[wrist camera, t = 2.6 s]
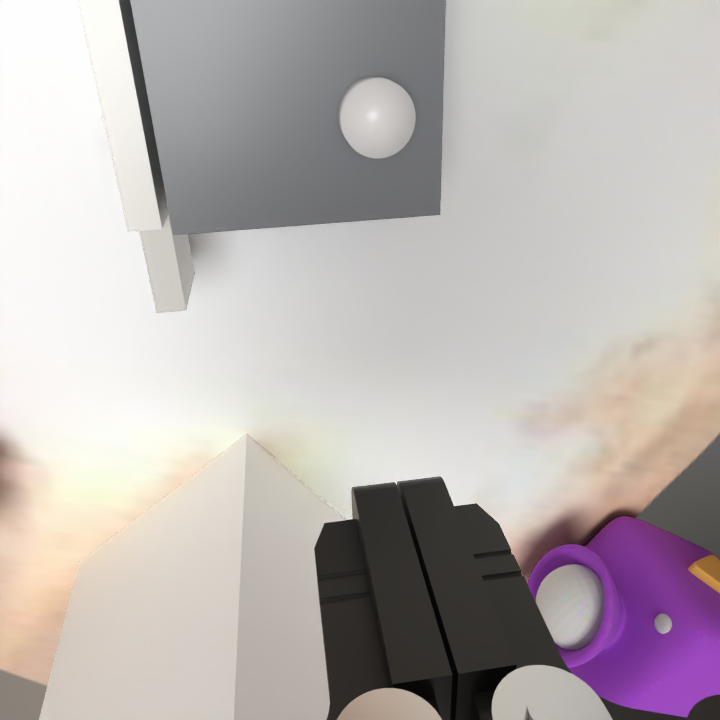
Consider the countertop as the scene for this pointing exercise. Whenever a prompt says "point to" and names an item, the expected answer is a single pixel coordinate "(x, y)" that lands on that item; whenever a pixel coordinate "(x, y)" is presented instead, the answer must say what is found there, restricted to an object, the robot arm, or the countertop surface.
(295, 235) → the countertop surface
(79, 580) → the milk
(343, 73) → the camera body
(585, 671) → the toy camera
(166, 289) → the side door
